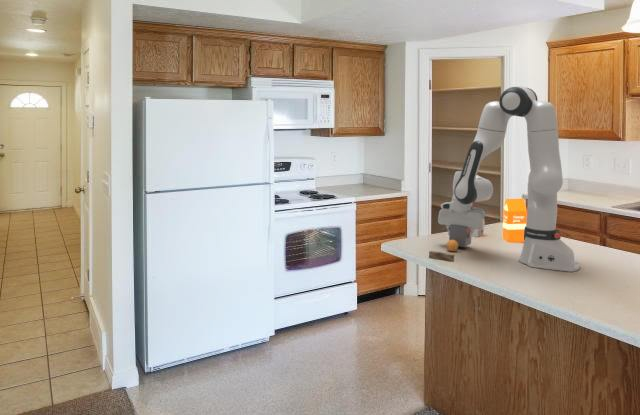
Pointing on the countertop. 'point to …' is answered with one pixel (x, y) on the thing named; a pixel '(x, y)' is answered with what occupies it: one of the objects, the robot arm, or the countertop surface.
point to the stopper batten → (441, 255)
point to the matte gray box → (460, 235)
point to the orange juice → (514, 220)
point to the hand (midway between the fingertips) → (460, 236)
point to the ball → (452, 245)
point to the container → (478, 232)
